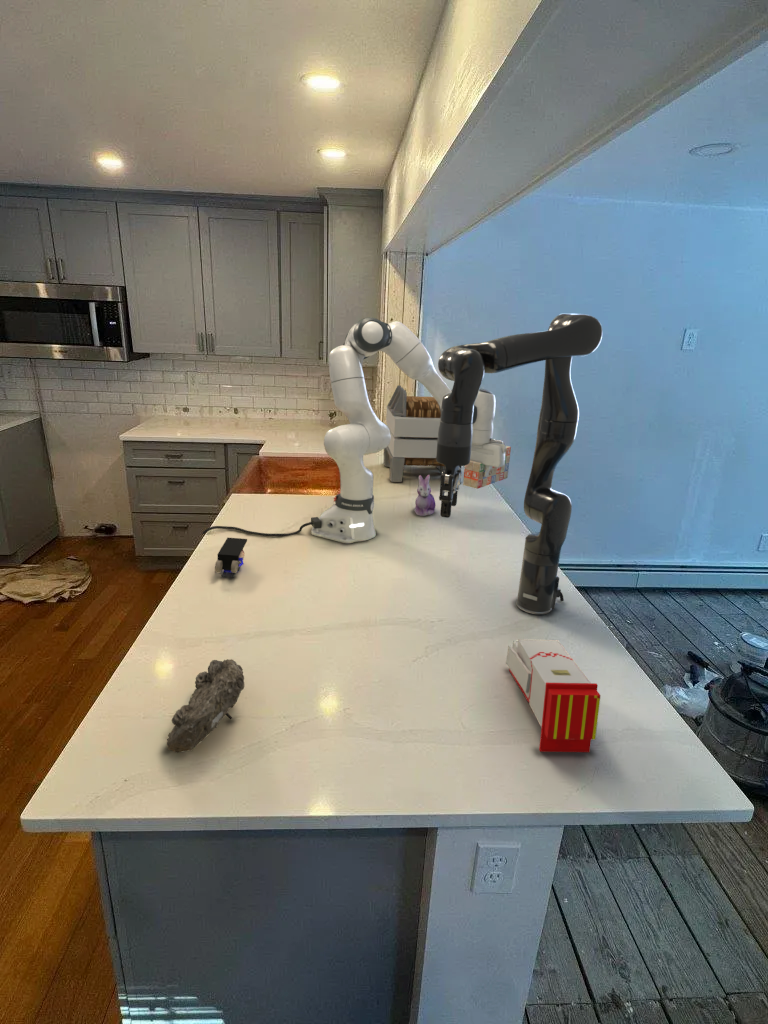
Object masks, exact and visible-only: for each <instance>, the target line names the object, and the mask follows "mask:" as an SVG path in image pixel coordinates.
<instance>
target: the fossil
mask: <svg viewBox="0 0 768 1024" xmlns="http://www.w3.org/2000/svg"><path fill="white" fill-rule="evenodd" d="M243 670H244V669H243V667H242V665H240V664H237V662H236V661H235V660H234V659H232V658H231V659H227V658H226V659H224V660H223V661H222V660H217V659H212V660H211V661H210V663H209V665H208V666H207V671H201V672H199V673H198V674H197V675H196V676H195V680H194V684H195V685H194V687H195V689H194V690H193V693H192V694H191V697H190V698H189V700H188V704H184V705H182V706H181V707H180V709H177V710H176V711H175V713H174V715H173V716H172V718H171V723H172V724H173V727H172V730H171V731H170V732H168V734H167V738H166V741H167V742H166V745H167V749H168V750H169V751H173V752H174V753H176V754H178V753H182V752H188V751H189V752H192V751H193V750H195V748H196V747H197V746H199V744H200V743H201V742H203V741H204V740H205V739H206V738H207V737H208V736H209V735H210V734H211V733H212V732H214V730H215V729H217V727H218V726H219V724H220V722H221V721H222V720H223V719H224V718H225V716H226V717H227V719H229V720H233V717H232V715H230V714H229V710H230V709H231V708H234V706H235V704H236V703H237V702H238V699H239V697H240V695H241V693H242V691H243V690H245V689H244V688H245V675H244V671H243Z"/></svg>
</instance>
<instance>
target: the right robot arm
mask: <svg viewBox="0 0 768 1024" xmlns="http://www.w3.org/2000/svg"><path fill="white" fill-rule="evenodd" d="M602 338H603V327H602V324H601V322H600V320H599V319H598V318H597V317H595V316H594V315H593V316H592V315H590V314H584V313H560V314H558V315H556V316H555V317H554V318H553V319H552V320H551V322H550V324H549V326H548V329H547V330H544V331H536V332H525V333H518V334H511V335H510V334H509V335H506V336H501V337H498V338H494V339H490V340H487V341H484V342H475V343H474V342H473V343H467V344H459V345H454V346H452V347H449V348H447V349H445V350H444V351H443V352H442V353H441V354H440V356H439V359H438V362H437V368H438V371H439V373H440V374H441V376H442V377H443V378H445V379H446V380H448V381H450V382H451V381H452V382H453V386H452V388H451V390H452V392H451V393H448V394H446V395H445V396H444V397H443V399H442V405H441V418H440V425H439V430H438V441H437V454H436V461H437V462H438V463H440V464H443V465H445V468H444V471H442V474H441V475H440V485H439V486H440V487H439V496H438V500H439V501H441V502H440V512H439V513H440V514H439V516H440V517H441V518H447V519H448V518H450V517H451V515H452V507H456V506H457V503H458V493H459V490H460V485H462V473H463V470H462V469H463V467H464V466H465V465H468V464H469V463H470V455H471V445H472V434H473V429H472V422H473V412H474V403H475V400H476V398H477V395H478V392H479V389H481V386H482V383H483V380H484V377H485V374H497V373H501V372H505V371H509V370H512V369H515V368H519V367H523V366H526V365H530V364H534V363H538V362H543V361H545V363H544V376H543V377H544V378H543V380H544V381H543V387H542V394H541V395H542V397H541V405H540V410H539V414H538V415H539V417H538V422H537V431H536V441H535V447H534V452H533V460H532V464H531V469H530V474H529V478H528V482H527V485H526V489H525V493H524V498H523V511H524V514H525V516H526V517H528V518H529V519H531V520H532V521H534V522H536V523H538V524H540V529H539V532H538V531H537V532H531V533H529V534H527V536H526V537H525V540H524V548H523V555H522V561H521V562H522V563H521V568H520V569H521V570H520V577H519V583H518V591H517V598H516V601H515V603H516V606H517V608H518V609H519V610H521V611H523V612H525V613H527V614H529V615H530V614H531V615H538V616H542V615H547V614H549V613H551V612H552V610H555V608H556V603H557V599H559V600H560V602H564V601H565V600H564V594H563V592H562V590H561V588H559V583H560V577H559V576H558V570H559V564H560V559H561V552H562V547H563V545H564V543H565V541H566V538H567V534H568V530H569V525H570V520H571V517H572V511H573V510H572V508H573V505H572V501H571V498H570V497H569V496H568V495H566V494H565V493H563V492H560V491H558V490H555V489H552V487H553V479H554V474H555V470H556V468H557V466H558V464H559V463H560V461H561V460H562V459H563V458H564V457H565V455H566V454H567V453H568V452H569V450H570V449H571V447H572V446H573V445H574V443H575V440H576V438H577V437H576V436H577V431H578V427H579V426H578V424H579V419H580V418H579V417H580V409H579V404H578V401H577V398H576V397H577V396H576V393H575V390H574V388H573V384H572V379H571V377H572V376H571V368H572V360H573V357H585V356H588V355H590V354H592V353H593V352H595V351H596V350H597V349H598V347H599V346H600V344H601V342H602ZM445 493H447V495H445Z"/></svg>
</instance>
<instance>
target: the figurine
mask: <svg viewBox="0 0 768 1024" xmlns="http://www.w3.org/2000/svg"><path fill="white" fill-rule="evenodd" d="M430 479H431V475H430V474H427V475H426V476H425V478H423V476H422V475H421V474H420V475H418V486H417V489H416V493H417V497H416V498H415V502H414V503H415V504H414V505H415V506H414V509H413V511H414V513H415V515H417V516H421V517H422V516H423V517H425V516H430V515H432V514H434V513H435V511H436V499H435V497H434V496H433V494H432V488H431V485H430Z"/></svg>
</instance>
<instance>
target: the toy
mask: <svg viewBox="0 0 768 1024" xmlns="http://www.w3.org/2000/svg"><path fill="white" fill-rule="evenodd" d="M505 659H506V660H505V665H506V666H507V667H508V671H509V673H510V674H511V676H512V678H513V679H514V681H515V682H516V685H517V686H518V688H519V690H520V691H521V692H522V694H523V697H525V699H526V701H527V703H529V707H530V709H531V711H532V712H533V714H534V716H535V718H536V720H537V722H538V724H539V726H540V728H541V729H540V739H539V748H538V751H539V752H540V753H543V752H544V753H590V752H591V744H592V743H591V742H592V740H596V736H597V727H598V720H599V719H598V718H599V710H600V704H601V703H600V702H601V696H602V695H601V694H600V693H599V692H598V687H599V686H598V683H595V682H594V683H592V682H591V681H590V679H589V678H588V677H587V676H586V674H585V673H584V671H583V670H582V669H581V668H580V666H579V665H578V664H577V663H576V662H575V661H576V660H574V659H573V658H572V656H571V655H570V653H568V651H567V650H566V648H565V647H564V645H563V644H562V643H561V642H560V641H559V639H529V638H528V639H524V638H521V639H517V640H512V645H511V644H510V645H509V644H508V646H507V653H506V658H505Z"/></svg>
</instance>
